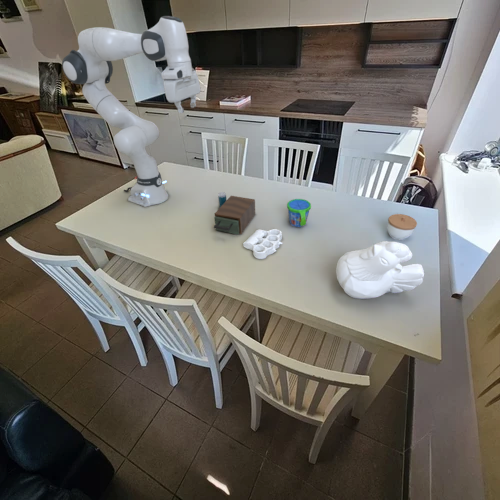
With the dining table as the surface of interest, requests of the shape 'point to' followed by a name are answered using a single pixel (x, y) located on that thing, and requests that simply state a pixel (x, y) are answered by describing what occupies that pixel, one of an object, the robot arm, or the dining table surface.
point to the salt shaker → (221, 198)
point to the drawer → (227, 224)
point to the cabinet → (238, 210)
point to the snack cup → (298, 211)
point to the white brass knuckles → (264, 242)
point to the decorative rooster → (378, 271)
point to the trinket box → (400, 226)
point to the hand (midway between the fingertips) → (187, 109)
